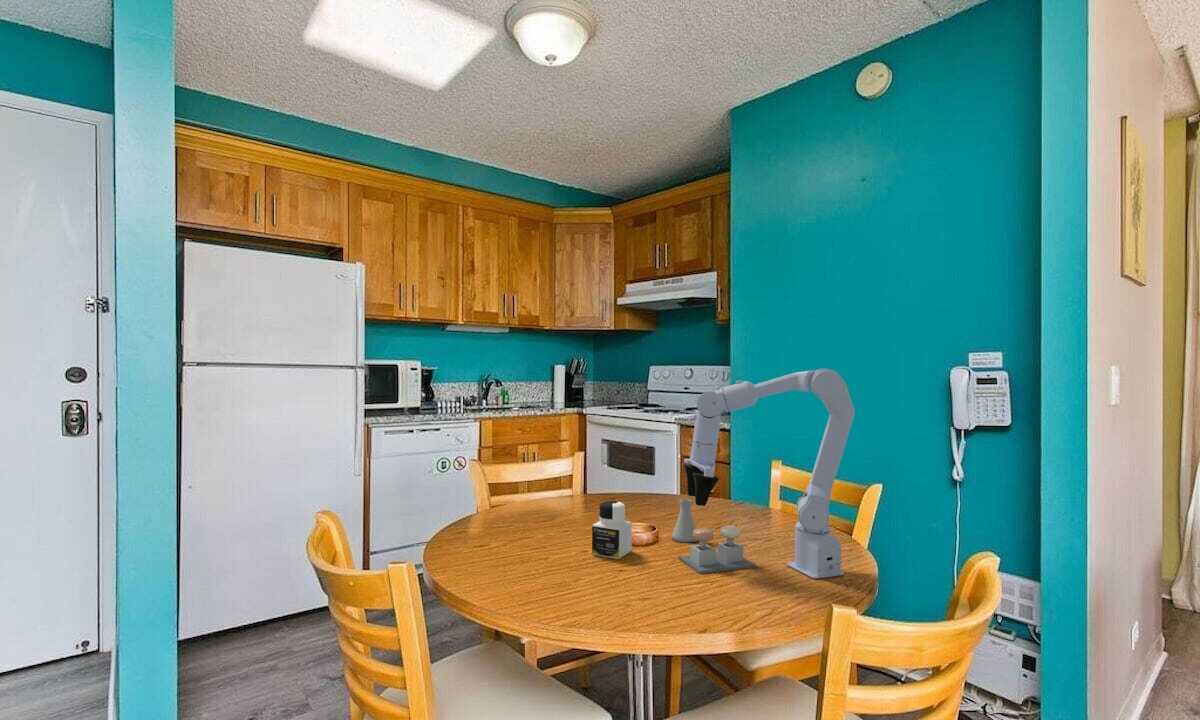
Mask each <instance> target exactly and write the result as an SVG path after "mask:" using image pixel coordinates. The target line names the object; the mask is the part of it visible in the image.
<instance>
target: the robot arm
mask: <svg viewBox="0 0 1200 720" xmlns="http://www.w3.org/2000/svg"><path fill="white" fill-rule="evenodd" d="M793 390H795V391H800V392H803V393H804V392H805V393H808V392H809V390H810V391H811V392H812V394H814V395H815V396H816V398H818V399H820V400H821V401H822V404H823V405H824V407H825V408H826V410H827V411H828V412H829V413H828V414H829V416H828V421H827V423H826V427H825V430H824V433H823V437H822V439H821V442H820V446H819V450H818V453H817V456H816V460H815V463H814V467H813V470H812V472H811V476H810V480H809V481H808V484H807V486H806V489H805V491H804V493H803V495H802V496H801V497H799V499H798V501H797V502H796V511H797V517H798V518H797V520H798V521H797V522H796V523H795V525H794V561H789V562H786V563H785V564H786V566H788V567H790V568H792V569H794V570H796V571H797V572H800V573H802V575H803V574H804V575H805V576H808V577H810V578H812V579H815V580H817V579H823V578H824V579H825V578H832V577H839V576H844V575H845V573H844V572H843V571H842V568H841V567H842V565H841V564H842V556H841V555H842V549H841V547H842V545H841V542H840V541H839V539H838V538H837V537H835V536H834V535H833V534H832V532H831V527H830V525H829V523H830V513H829V508H830V507H829V505H830V503H831V495H832V489H833V485H834V483H835V480H836V476H837V473H838V471H839V467H840V464H841V463H840V462H841V460H842V457H843V454H844V451H845V447H846V443H847V440H848V437H849V434H850V431H851V428H852V424H853V421H854V418H855V413H856V410H855V407H854V404H853V401H852V398H851V396H850V394H849V393H850V392H849V389H848V386H847V383H846V382H845V381H844V379H843V378H842V377H841V375H840V374H839V373H838V372H837V371H836V370H832V369H829V368H818V369H816V370H805V371H798V372H793V373H789V374H786V375H782V376H779V377H776V378H773V379H769V380H766V381H762V382H759V383H757V384H754V383H752V382H750V381H748V380H745V381H742V379H740V380H736V381H735V384H731V385H726V386H723V387H721V386H716V387H715V391H714V390H708V391H706V392H703V393H701V394H700V396H699V397H698V398H697V400H696V401H697V402H696V408H697V412H696V419H695V421H694V428H693V436H692V442H691V448H690V449H691V450H690V456H689V458H684V460H683V461H684V463H686V464H683V468H684V472H685V475H686V483H687V484H686V485H687V495H688V496H689V497H695V498H694V499H695V500H694V501H695V505H696V506H701V507H706V505H707V502H708V500H709V498H710V495H711V492H712V491H713V489H714V487H715V486H716V484H717V483H718V482H719V480H720V479H719V477H718V476H715V470H716V469H715V467H716V457H717V449H718V444H719V435H720V428H721V424H720V421H721V415H722V414H721V413H722V412H726V413H729V412H733V411H737V410H741V409H744V408H748V407H752V406H755V405H756V403H757V401H758V399H759V398H764V397H767V396H771V395H776V394H779V393H784V392H788V391H793Z"/></svg>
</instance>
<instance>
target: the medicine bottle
mask: <svg viewBox="0 0 1200 720" xmlns="http://www.w3.org/2000/svg"><path fill="white" fill-rule="evenodd" d="M598 516H599V521H597V522H594V523H593V524H592V526H591V529H592V530H591V531H592V533H591V534H592V535H591V554H592V555H593V556H597V557H598V556H599V557H604V558H607V559H608V558H609V559H613V560H615V559H616V560H619V559H621V558H623V557H624V556H626V555H627V554H629V553H630V552H632V539H633V538H632V531H633V530H632V529H633V528H632V527H633V526H632V521H629V520H628V521H627V520H626V505H625V504H624V502H623V503H622V501H619V500H606V501H603V502H601V503H600V504H599V515H598Z"/></svg>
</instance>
